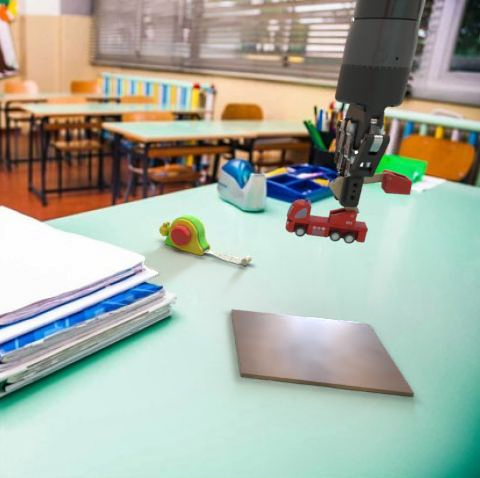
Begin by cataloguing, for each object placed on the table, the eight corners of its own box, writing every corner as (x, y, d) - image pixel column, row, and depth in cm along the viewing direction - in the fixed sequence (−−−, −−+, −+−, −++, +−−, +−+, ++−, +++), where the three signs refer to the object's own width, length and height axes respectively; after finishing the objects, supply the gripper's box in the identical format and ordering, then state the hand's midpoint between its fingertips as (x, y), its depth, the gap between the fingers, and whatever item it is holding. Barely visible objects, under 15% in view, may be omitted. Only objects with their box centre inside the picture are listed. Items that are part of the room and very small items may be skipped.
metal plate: (368, 326, 73) (369, 323, 72) (413, 396, 58) (414, 393, 58) (231, 311, 75) (231, 309, 75) (240, 376, 60) (241, 373, 60)
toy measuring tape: (167, 235, 104) (169, 206, 102) (255, 260, 94) (260, 227, 92) (151, 244, 99) (153, 213, 97) (242, 271, 89) (247, 237, 87)
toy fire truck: (284, 227, 70) (296, 159, 66) (390, 242, 66) (409, 171, 62) (283, 234, 67) (296, 164, 63) (395, 250, 63) (415, 177, 59)
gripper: (436, 66, 51) (394, 222, 57) (388, 63, 64) (358, 191, 70) (361, 62, 52) (328, 217, 58) (328, 60, 65) (304, 187, 71)
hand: (344, 202), depth 64 cm, fingers closed on toy fire truck, 2 cm apart
